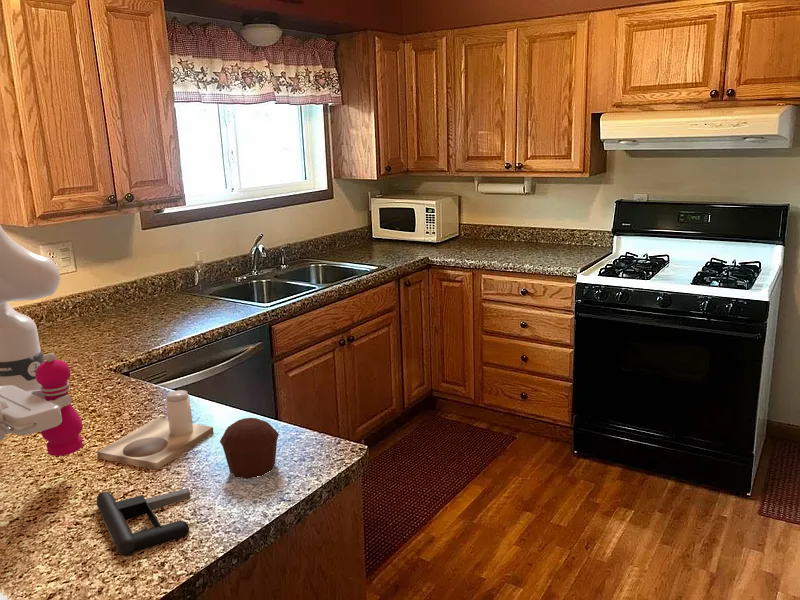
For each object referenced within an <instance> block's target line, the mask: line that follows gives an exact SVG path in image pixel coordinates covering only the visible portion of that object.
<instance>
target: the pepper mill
mask: <svg viewBox="0 0 800 600" xmlns="http://www.w3.org/2000/svg"><path fill="white" fill-rule="evenodd" d="M56 358H57V357H56V354H55V353H53V352H49V353H46V354H45V355H44V360H45V362H43V363H42V364H40V365H39V366H38V367H37V369H36V372H35V377H36V380H37V382H38V383H39V384H40V385H42V387H41V388H40V389H41V390H42V392H41V394H42V395H43V396H44V397H45V400H47V401H50V400H55V399H57V398H58V396H61V395H64V394H67V395H69V391H70V390H71V387H70V382H69V381H68V380H69V379H70V377H71V375H72V374H71V369H70V366H69V365H68V364H67V363H66V362H65V360H64V361H63V360H60V359H56ZM60 410H61V415H62V423H61V424H59V425H58V426H56V427H53V428H50V429H47V430H44V431H40V433H41V436H42V439H44V440H46V441H47V443H46V451H47V454H48V455H50V456H53V457H62V456H68V455H70V454H74V453H76V452H78V451H79V450H81V449H82V447H83V438H82V436H81V435H80V434H81V432H82V430H83V427H84V426H83V422H82V419H81V417H80V415H79V414H78V411H76V410H75V408H74V407H73V404H72V403H71V404H70V405H67V406H64V407H62V408H61V409H60Z"/></svg>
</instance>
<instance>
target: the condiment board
mask: <svg viewBox="0 0 800 600" xmlns="http://www.w3.org/2000/svg"><path fill="white" fill-rule="evenodd" d="M213 434H214V426H209V425H203V424H196V423H193V432H192V433H190V434H188V435H185V436H180V437H175V436H171V435H170V430H169V422H168V418H167V419H165V418H160V417H156V418H154V419H153V420H151V421H148V423H146V424H144V425H142V426H140V427H138V428H137V429H134V430H133V431H131V432H129V433H128V434H126V435H124V436H123V437H121V438H118V439H117V440H115V441H113V442H112V443H110V444H108V445H106V446H105V447H103V448H101V449H99V450H97V451H96V454H97V459H100V460H106V461H111V462H115V463H121V464H127V465H131V466H137V467H141V468H146V469H152V470H156V471H158V470H159V469H162V468H163V467H164V466H166V465H167V464H169V463H170V462H172V461H174V460H175V459H176V458H178V457H179V456H181V455H182V453H183V454H184V453H186V452H187V451H189V450H190V449H192V448H193V447H195V446H196V445H198V444H199V443H201V442H202V441H204V440H205V439H206V438H208V437H211V435H213ZM203 439H204V440H203ZM200 441H201V442H200ZM197 443H198V444H197ZM191 447H192V448H191ZM188 449H189V450H188Z"/></svg>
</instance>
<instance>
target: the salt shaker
mask: <svg viewBox="0 0 800 600" xmlns="http://www.w3.org/2000/svg"><path fill="white" fill-rule="evenodd" d="M165 406H166V415H167V420H168V422H169V430H170V435H171V436H175V437H180V436H185V435H188V434H190V433H192V432H193V424H194V423H193V416H192V407H191V399H190V395H189V394H188V391H187V390H183V389H181V390H178V389H177V390H174V391H173V390H172V391H170V392H168V393H167V394H166V398H165Z"/></svg>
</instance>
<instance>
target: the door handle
mask: <svg viewBox="0 0 800 600" xmlns="http://www.w3.org/2000/svg"><path fill="white" fill-rule="evenodd" d="M187 499H191V491H190V490H189V489H188V488H184V489H180V490H175V491H172V492H168V493H164V494H161V495H156V496H152V497H148V498H145V496H144V494H141V495H138V496H137V495H136V496H134V497H130V498H126V499H123V500H118V501H116V499H115V497H114V495H113V494H111V493H110V492H109V491H102V492H100V493H98V495H97V496H96V503H94V504H92V506H94V505H95V506H96V507H97V509H98V510H99V513H100V515H101V517H102V519H103V523H104V524H105V527H106V529H107V531H108V534H109V535H110V539H111V541H112V543H110V544H108V545H115V547H114V548H111V549H110V551H113V550H117V551H118V553H119V555H121V556H122V557H123V556H124V557H130V556H132V555H133V554H135V553H136V552H138V551H142V550H146V549H149V548H153V547H156V546H158V545H162V544H165V543H168V542H172V541H176V540H179V539H182V538H185V537H187V536H188V535H189V532H190V526H189V524H188V523H187V522H186V521H184V520H177V521H173V522H170V523H167V524H163V525H162V524H161V522H160V521H159V519H158V518H157V516H156V515H155V513H154V511H155V510H157V509H161V508H163V507H166V506H169V505H172V504H175V503H178V502H182V501H185V500H187ZM144 515H146V516H147V518H148V519H149V521H150V523H151V524H152V526H153V527H152V528H149V527H148V526H147V525H144V527H142V528H141V529H139V530H138V531H136V532H134V533H133V532H132V530H131V528H130V526H129V524H128V522H127V521H128V520H129V521H130V520H131V519H135V518H138V517H140V516H141V517H142V516H144Z"/></svg>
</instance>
